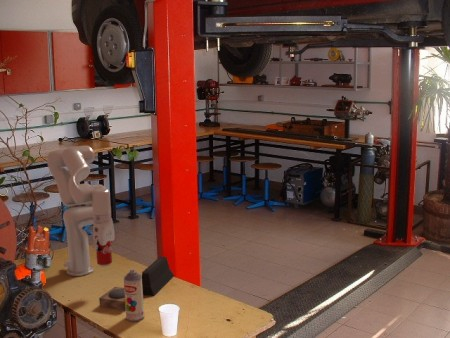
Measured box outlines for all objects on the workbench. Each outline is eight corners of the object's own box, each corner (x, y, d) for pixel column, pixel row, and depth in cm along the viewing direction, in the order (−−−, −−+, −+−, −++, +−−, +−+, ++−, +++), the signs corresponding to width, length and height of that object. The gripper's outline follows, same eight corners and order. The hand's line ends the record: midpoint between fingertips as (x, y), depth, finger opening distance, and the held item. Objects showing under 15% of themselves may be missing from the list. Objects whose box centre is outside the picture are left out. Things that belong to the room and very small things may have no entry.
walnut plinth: (99, 307, 226) (99, 297, 226) (115, 295, 237) (115, 285, 237) (125, 311, 222) (124, 300, 221) (140, 299, 233) (139, 289, 232)
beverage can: (109, 267, 236) (107, 240, 234) (95, 266, 237) (93, 240, 235) (114, 262, 243) (112, 235, 240) (100, 261, 244) (98, 235, 241)
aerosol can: (123, 320, 214) (119, 271, 210) (132, 313, 220) (129, 265, 216) (138, 323, 212) (135, 273, 208) (147, 315, 218) (144, 267, 214)
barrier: (157, 274, 260) (156, 254, 258) (174, 276, 258) (173, 255, 256) (135, 295, 238) (134, 273, 236) (154, 297, 235) (153, 274, 233)
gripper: (98, 224, 227) (101, 266, 231) (120, 212, 242) (122, 252, 246) (83, 222, 230) (85, 263, 234) (105, 211, 245) (108, 250, 249)
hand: (104, 257), depth 240 cm, fingers closed on beverage can, 4 cm apart
